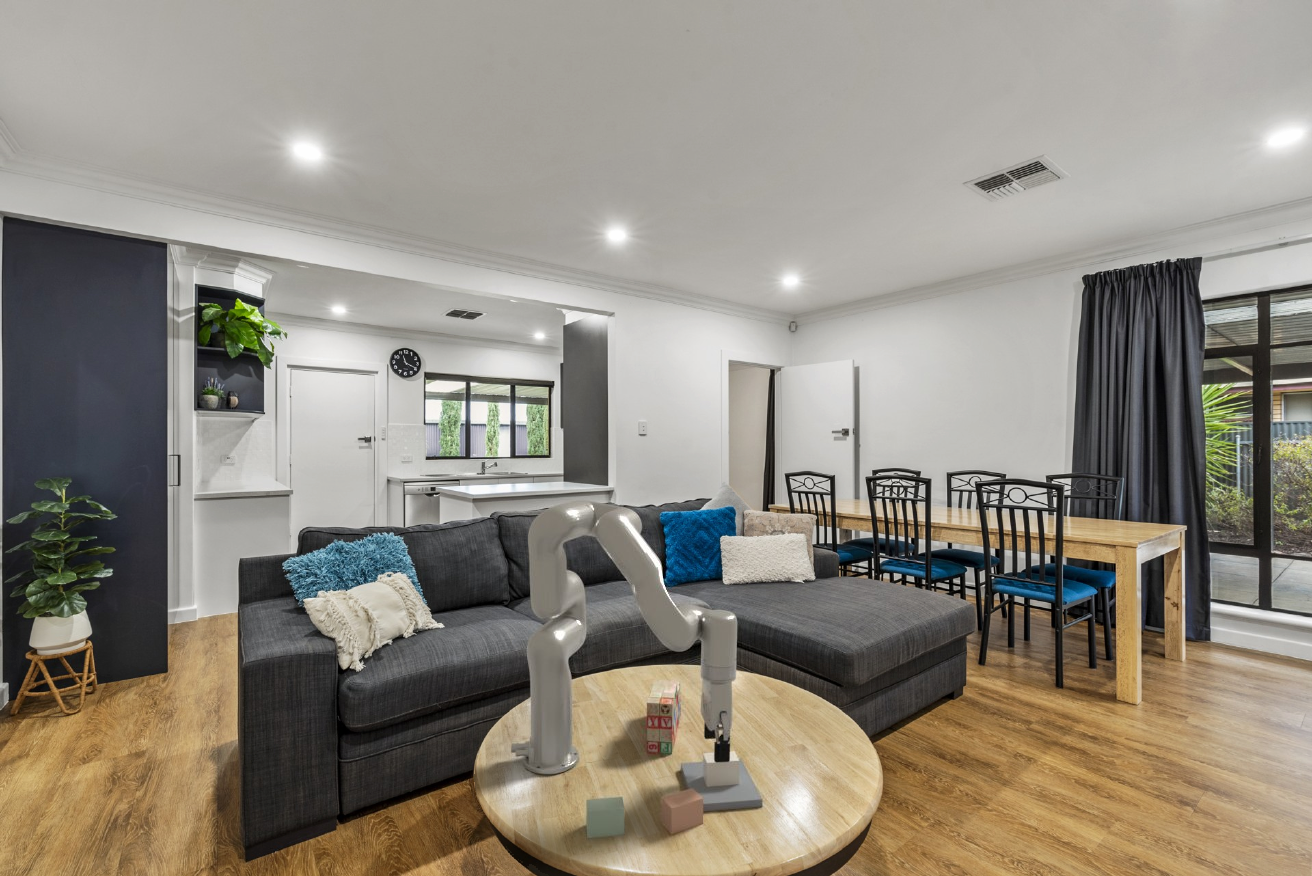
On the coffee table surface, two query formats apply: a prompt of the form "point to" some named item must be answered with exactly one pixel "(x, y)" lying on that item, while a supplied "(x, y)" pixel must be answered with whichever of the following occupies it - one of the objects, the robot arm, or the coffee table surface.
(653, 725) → the stack of blocks
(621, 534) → the robot arm
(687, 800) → the terracotta brick
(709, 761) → the ivory brick
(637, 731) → the coffee table surface
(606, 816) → the sage brick
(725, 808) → the slate board
